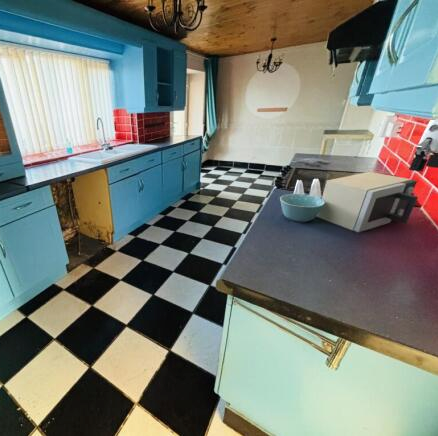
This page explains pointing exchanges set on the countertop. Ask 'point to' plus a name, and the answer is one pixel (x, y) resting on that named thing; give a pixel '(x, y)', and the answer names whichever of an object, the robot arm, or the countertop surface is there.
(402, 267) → the countertop surface
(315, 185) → the shaker set
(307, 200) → the bowl
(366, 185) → the microwave
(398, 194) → the microwave door
